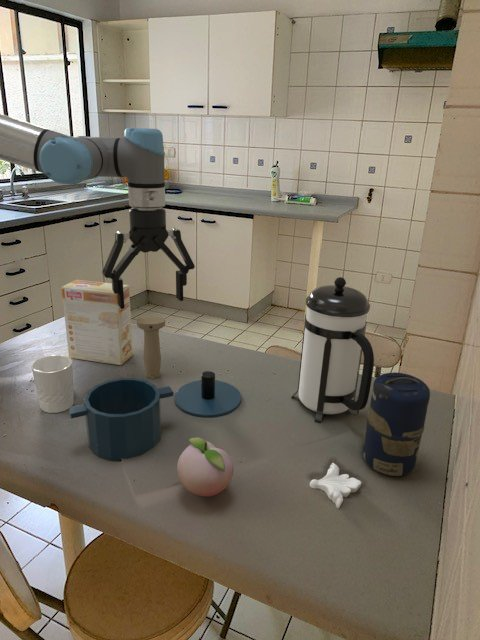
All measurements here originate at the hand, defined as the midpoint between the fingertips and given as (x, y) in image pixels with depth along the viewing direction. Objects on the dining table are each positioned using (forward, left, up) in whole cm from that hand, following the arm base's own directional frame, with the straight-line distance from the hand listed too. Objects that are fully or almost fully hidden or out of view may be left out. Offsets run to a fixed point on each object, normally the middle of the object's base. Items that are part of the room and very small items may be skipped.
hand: (151, 302), depth 105 cm
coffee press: (+29, +31, -19) cm, 46 cm away
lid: (+15, +8, -19) cm, 25 cm away
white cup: (+3, -23, -20) cm, 30 cm away
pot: (+21, -12, -19) cm, 31 cm away
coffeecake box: (-16, -9, -20) cm, 27 cm away
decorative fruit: (+41, -4, -20) cm, 45 cm away
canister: (+48, +30, -20) cm, 60 cm away
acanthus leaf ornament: (+49, +17, -19) cm, 55 cm away
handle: (0, 0, -20) cm, 20 cm away
